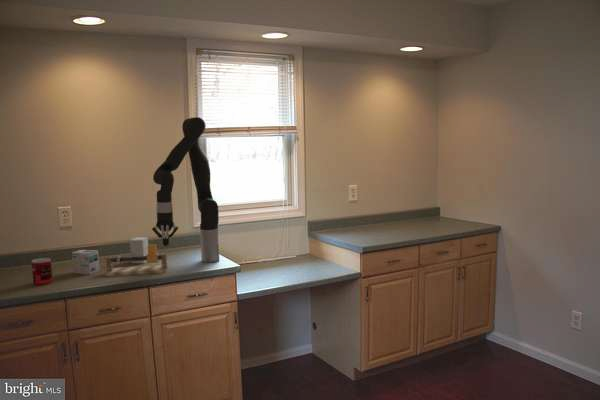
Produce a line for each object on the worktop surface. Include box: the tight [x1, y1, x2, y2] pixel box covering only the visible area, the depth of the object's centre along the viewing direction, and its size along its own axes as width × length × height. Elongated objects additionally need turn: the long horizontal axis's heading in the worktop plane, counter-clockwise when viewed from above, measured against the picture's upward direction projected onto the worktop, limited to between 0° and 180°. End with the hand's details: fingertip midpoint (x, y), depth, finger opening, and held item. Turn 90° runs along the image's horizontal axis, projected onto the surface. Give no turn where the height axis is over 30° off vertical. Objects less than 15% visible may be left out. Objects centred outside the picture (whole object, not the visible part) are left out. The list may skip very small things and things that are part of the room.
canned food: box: [31, 257, 54, 286], centre depth 224 cm, size 8×8×11 cm
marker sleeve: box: [146, 244, 159, 264], centre depth 242 cm, size 5×4×9 cm
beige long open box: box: [105, 253, 169, 277], centre depth 241 cm, size 28×10×8 cm, turn 99°
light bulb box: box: [71, 249, 101, 276], centre depth 241 cm, size 11×7×11 cm, turn 71°
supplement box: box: [128, 237, 149, 264], centre depth 260 cm, size 7×7×13 cm
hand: (165, 245), depth 242 cm, fingers closed
